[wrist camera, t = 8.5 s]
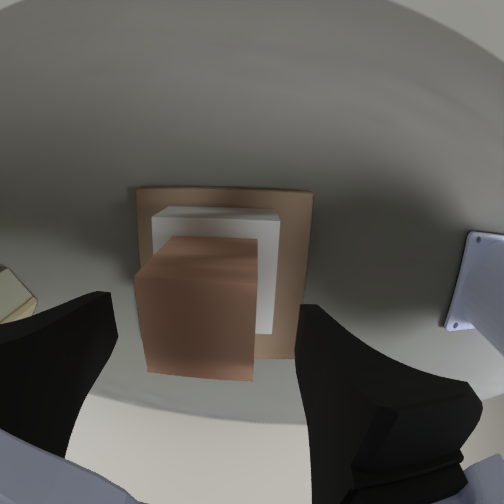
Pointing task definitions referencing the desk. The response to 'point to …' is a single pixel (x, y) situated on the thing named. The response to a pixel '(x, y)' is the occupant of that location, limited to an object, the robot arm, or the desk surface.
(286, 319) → the plate
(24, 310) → the skincare box
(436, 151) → the desk surface
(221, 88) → the desk surface
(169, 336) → the terracotta block
